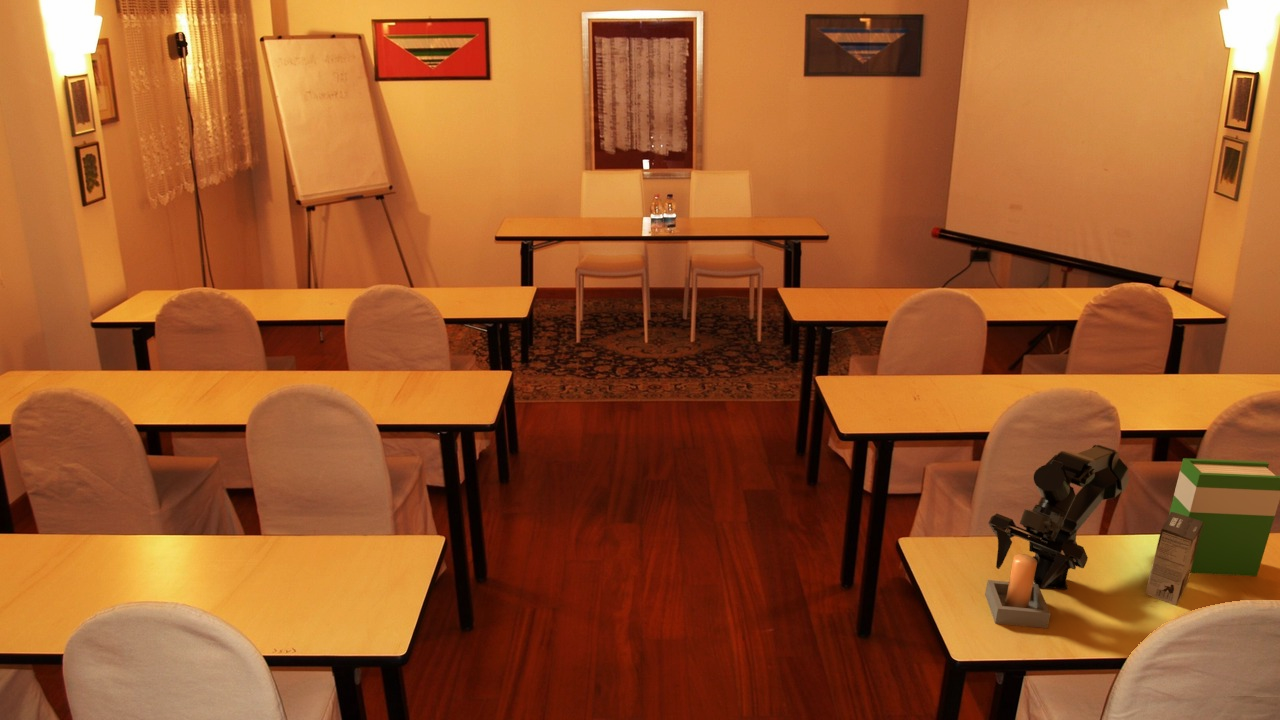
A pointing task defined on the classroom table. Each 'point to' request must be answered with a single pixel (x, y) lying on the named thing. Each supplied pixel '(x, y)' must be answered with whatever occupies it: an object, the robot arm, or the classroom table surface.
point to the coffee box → (1174, 558)
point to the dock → (1013, 615)
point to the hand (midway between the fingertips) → (1019, 577)
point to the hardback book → (1228, 512)
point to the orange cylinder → (1021, 581)
